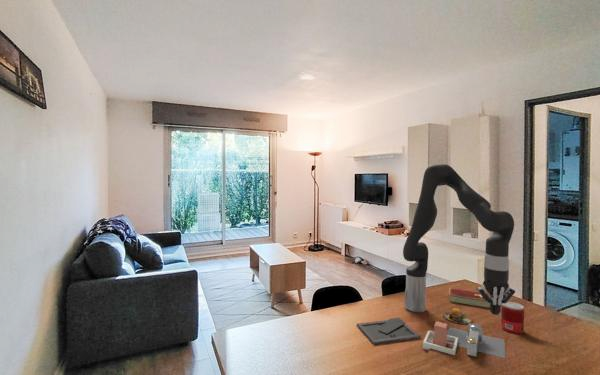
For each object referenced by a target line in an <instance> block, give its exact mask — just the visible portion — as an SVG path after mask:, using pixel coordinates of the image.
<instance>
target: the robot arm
mask: <svg viewBox="0 0 600 375" xmlns="http://www.w3.org/2000/svg"><path fill="white" fill-rule="evenodd" d="M440 186H447V187H449V188H451V189H452V190H453V191H454V192H455V193H456V196H457V199H458V200H459V202H460V203H461V205H462V206H463V207H464V208H465V209H466V210H468V211H469V212H470V213H471V214H473V215H474V217H475V218H476V220H477V221H478V222H479V224H480V225H481V227H483V229H485V230H486V231H488V232H492V234H491V236H489V237H487V238H486V241H485V255H484V259H483V260H484V261H483V262H484V263H483V270H484V271H483V279H484V280H483V282H482V285H480V286H476V291H477V292H479V293H480V294H481V296H482V297H483V298H484V300H486V301H487V302H488V303H490V308H489V312H490V313H491V314H492V315H494V316H499V314H500V312H501V306H502V303H504V304H505V303H506V302H509V300H510V299H511V298H512V297H513V296H514V294H515V293H516V291H515V289H513V288H511V287H510V284H509V278H510V277H509V276H510V275H509V274H510V259H509V252H510V250H509V246H510V242H511V239H512V236H513V233H514V230H515V220H514V217H513V215H511V213H510V212H507V211H503V210H501V211H494V210H492V209H491V208H492V207H491V206H492V205H491V203H490V201H488V200H487V199H486V198H485V197H484V196H482V195H480V193H478V192H477V191H476V190H475V189H473V188H472V187H471V186H470V185H469V184H468V183H467V182H466V181H465V180H464V178H462V177H461V176H460V175H459V174H458V173H457V171H456V170H455V168H453V167H452V166H450V165H449V164H445V163H443V164H442V163H441V164H440V163H439V164H432V165H429V166H427V167H426V169H425V171H424V174H423V178H422V184H421V189H420V190H421V191H420V195H419V198H418V203H417V205H416V209H415V212H414V216H413V220H412V223H411V227H410V230H409V232H408V235H407V238H406V240H405V243H404V245H403V248H402V249H403V250H402V256H403V259H404V260H405V261H407V262H414V263H413V264H412V265H410V266H408V267H407V268H406V272H405V274H406V276H405V290H404V309H406V310H408V311H410V312H414V313H424V312H425V311H426V308H427V307H426V305H427V304H426V300H427V298H426V297H427V296H426V295H427V294H426V293H427V289H426V288H427V272H428V266H429V249H428V248H429V247H428V246H427V244H426V243H424V241H423V242H420V240H421V239H422V238H423V237H425V235H426V234H427V233H428V232H429V231H430V230H431V229H432V227H433V226H434V225H435V221H436V220H437V217H438V208H437V204H436V202H435V194H436V191H437V188H438V187H440ZM486 292H487V293H488V295H489V297H488V296H487V295H486Z"/></svg>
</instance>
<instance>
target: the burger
mask: <svg viewBox="0 0 600 375" xmlns="http://www.w3.org/2000/svg"><path fill="white" fill-rule="evenodd" d="M442 318H443V319H445V320H446V321H448V322H451V323H453V324H458V325H468V324H469V323H473V319H472V318H471V317H470V316H468V315H466V313H465V314H464V313H463V312H462V310H461V309H459V308H457V307H454V308H452V309H451V310H450V311H449V312H448V311H447V312H445V313H443V314H442Z"/></svg>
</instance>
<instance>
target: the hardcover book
mask: <svg viewBox="0 0 600 375" xmlns="http://www.w3.org/2000/svg"><path fill="white" fill-rule="evenodd" d="M448 289H449V290H448V296H449V302H452V303H457V304H458V303H459V304H465V305H469V306H470V305H471V306H477V307H483V308H487V309H488V308H489V309H490V303H488V302H487V301H486V300H484V298H483V297H482V296H481V294H480V293H479V292H478V291H472V290H466V289H465V290H464V289H459V288H451V287H449V288H448ZM485 293H486V292H485ZM486 295H487V296H488V297H489V295H488V292H487V293H486Z"/></svg>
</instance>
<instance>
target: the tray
mask: <svg viewBox="0 0 600 375" xmlns="http://www.w3.org/2000/svg"><path fill="white" fill-rule="evenodd" d="M447 340H450V341H453V342H454V345H452V346H453V347H452V348H449V347H447V346H446V347H443V346H439V345H436V344H434V330H427V332H426V335H425V337H424V339H423V342H422V349H423V350H426V351H430V350H434V351H437V352H442V353H446V354H449V355H453V356H456V353H457V348H458V346H457V344H458V338H457V337H453V336H449V335H447Z"/></svg>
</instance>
